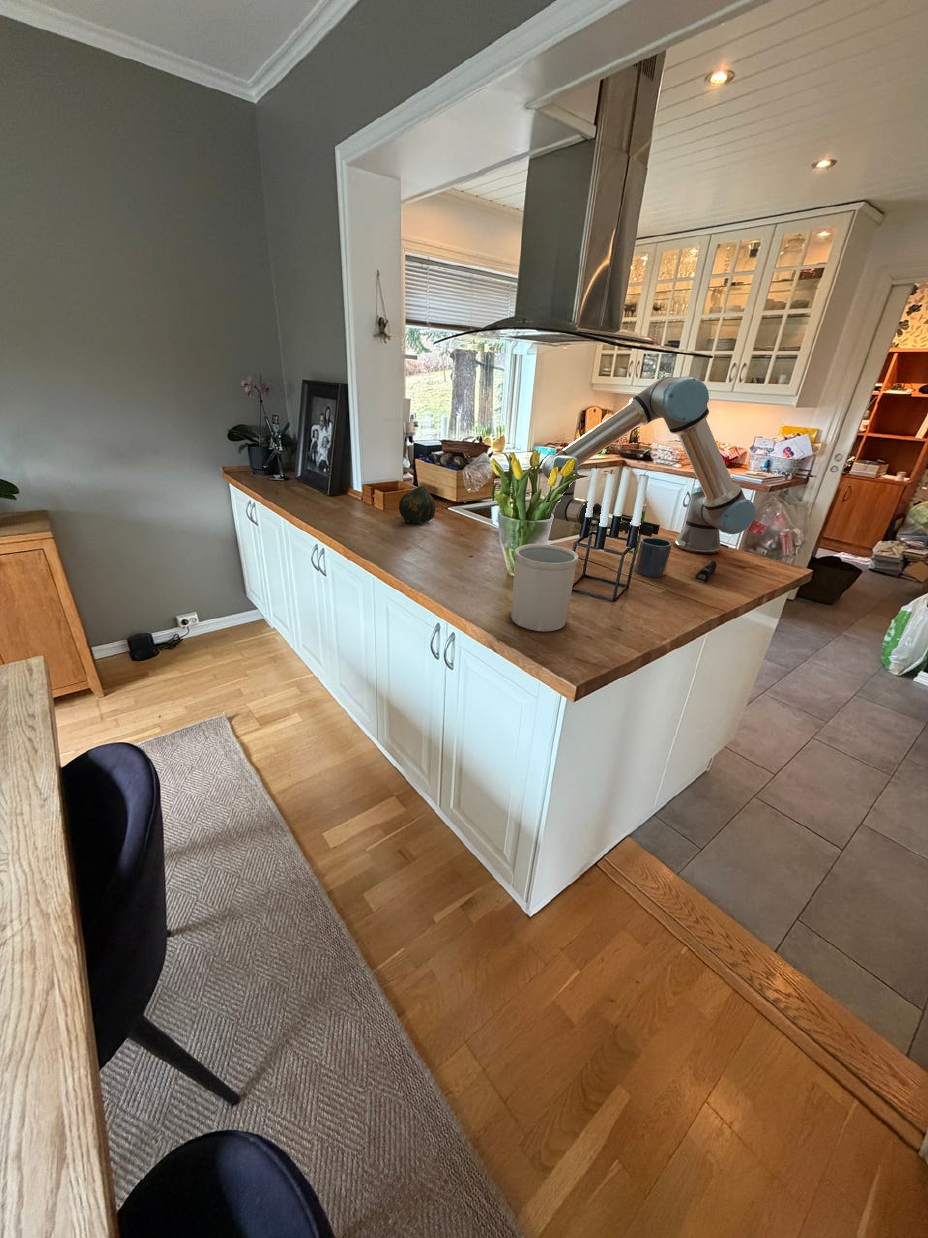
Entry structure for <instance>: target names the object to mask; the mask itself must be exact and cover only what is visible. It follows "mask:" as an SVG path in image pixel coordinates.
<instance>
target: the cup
mask: <svg viewBox="0 0 928 1238" xmlns="http://www.w3.org/2000/svg"><path fill="white" fill-rule="evenodd" d="M671 550H672V542H671V541H669V540H666V539H663V538H658V537H643V538H640V542H639V547H638V552H637V558H636V563H635V567H634V572H636V573H637V574H639V575H641V576H643V577H650V578H661V577H664V576H665V575H666V571H667V567H668V562H669V558H670V554H671Z"/></svg>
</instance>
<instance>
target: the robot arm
mask: <svg viewBox="0 0 928 1238" xmlns="http://www.w3.org/2000/svg"><path fill="white" fill-rule="evenodd" d="M709 400H710V393H709V390H708V387H707V385H706V384H705V383H704V382H703V381H702V380H700V379H699V378H696V377H693V376H689V375H687V376H666V377H663V378H662V377H661V378H660V379H658V380H656V381H655V382H653V383H651V384H650V385H648V386H647V387H646V388H644V389H643V390H641V391H640V392H639V393H637V394H636V395H635V396H632V397H631V399H630V400H629V403H628V404H627V405H626V406H624V407H622V408H621V409H620V410H618V411H617V412H615V413H614V414H613V415H611V416H610V417H608V418H606V419H605V420H604V421H602V422H601V423H599V424H598V425H597V426H595V427H594V428H593V429H591V430H589V431H588V432H587V433H585V434H583V435H582V436H581V437H579V438H578V439H576V440H575V441H573V442H572V443H571V444H569V445H568V446H566V447H565V448H563V449H562V450H560V451H558V452H557V453H556V454H553V455H548V456H546V457H545V458H544V459H543V461H542V463H541V471H542V474H543V475H544V477H546V479H548V480H550V479H549V477H550V473H551V471H552V469H553V468H554V467H563V466H564V465H565V464H566V462H567V461H568V460H569V459H570V460H572V459H571V458H573V459H574V460H575V471H574V472H575V474H576V475H577V476H578V470H579V468H578V467H580V466H581V465H582V464H584V463H586V462H587V461H589V460H590V459H591V458H593V457H594V456H596V455H598V454H599V453H600V452H602V451H603V450H605V449H606V448H608V447H610V446H611V445H612V444H614V443H615V442H617V441H618V440H620V439H621V438H623V437H624V436H626V435H628V434H629V433H630V432H632V431H634V430H635V429H636V428H638V427H639V426H646V425H648V424H649V423H651V422H653V421H656V420H658V419H663V420H664V422H665V425H666V427H667V429H668V431H669V432H670V434H674V435H677V438H678V439H679V441H680V444H681V446H682V448H683V450H684V452H685V455H686V456H687V459H688V461H689V464H690V465H691V468H692V470H693V472H694V475H695V476H696V479H697V481H698V483H699V484H697V485H695V486H694V487H693V491H692V493H691V498H690V502H689V507H688V511H687V514H686V519H685V523H684V526H683V527H682V529H681V530H680V532H679V533H678V536H677V537H676V539H675V542H674V546H675V547H676V548H678V549H680V550H683V551H684V552H685V551H686V552H688V553H693V554H700V555H701V554H703V555H714V554H717V553H719V552H720V549H721V547H723V548H726V549H728V548H729V545H727V544H724V543H721V537H720V535H721V534H720V532H722V533H725V534H728V535H737V534H740V533H743V532H744V531H746V530H747V529H748V528H749V527H751V525H752V524H753V521H754V520H755V518H756V516H757V507H756V505H755V504H754V502H753V501H751V499H747V498H746V497H745V494H744V491H743V489H742V487H741V485H740V484H738V483H734V482H733V480H732V478H731V475H730V472H729V470H728V468H727V465H726V463H725V461H724V458H723V456H722V453H721V452H720V451H721V450H720V449H719V446H718V445H717V441H716V439H715V436H714V435H713V431H712V429H711V427H710V425H709V423H708V420H707V419H708V416H709V415H710V410H709V407H708V403H709ZM576 482H577V480H576V481H575V482H573V483H572V484H571V485H570V487H569V488H568V489H567V491H566V492H565V493H564V494H563V496H562V497H561V501H560V502H559V503H558V505H557V506H556V509H555V512H554V518H553V519H557V520H561V521H563V522H569V523H573V524H574V525H575V526H578V525H580V526H583V521H584V517H585V513H586V508H587V503H588V502H589V500H585V499H581V498H576V497H574V496H575V489H576ZM547 494H548V493H546V494H545V495H544V496H543V498H544V497H545V496H546V495H547ZM601 508H602V505H601V504H600V503H598V502H594V507H593V517H592V522H591V526H593V527H592V528H596V527H598V528H600V527H599V523H600V514H601ZM602 509H603V508H602ZM621 513H622V520H621V522H620V527H619V531H618V532H620V533H623V532H624V534H625V535H628V534H629V531H630V522H631V520H632V517H633V516H634V515H631V514H626V513H623V512H621ZM583 527H584V526H583ZM660 527H661V524H657V523H654V522H650V521H645V520H644V522H643V524H641V525H640V529H639V534H641V536H645V537H647V538H653V535H656V536H658V535H659V532H660V531H659V530H660ZM592 528H591V529H592ZM607 530H611V528H610V527H608V529H607Z"/></svg>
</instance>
